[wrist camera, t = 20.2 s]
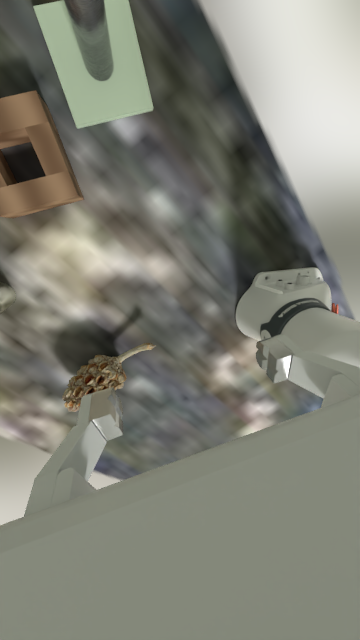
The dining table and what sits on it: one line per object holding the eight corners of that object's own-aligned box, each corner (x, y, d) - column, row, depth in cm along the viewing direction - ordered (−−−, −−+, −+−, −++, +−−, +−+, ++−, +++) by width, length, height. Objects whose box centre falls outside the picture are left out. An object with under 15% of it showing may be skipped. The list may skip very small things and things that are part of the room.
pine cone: (95, 399, 50) (86, 434, 41) (61, 376, 47) (43, 410, 38) (163, 341, 48) (169, 366, 39) (133, 313, 44) (132, 333, 35)
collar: (48, 107, 30) (35, 90, 27) (84, 199, 35) (77, 195, 32) (-36, 127, 29) (-61, 111, 26) (12, 218, 34) (-2, 216, 31)
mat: (125, -6, 28) (125, -12, 27) (152, 110, 33) (153, 107, 32) (36, 12, 27) (33, 6, 26) (77, 128, 32) (76, 126, 31)
